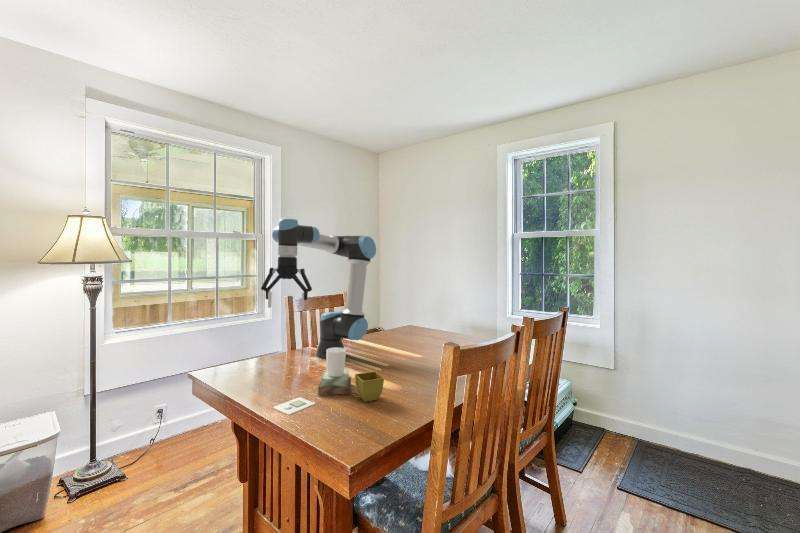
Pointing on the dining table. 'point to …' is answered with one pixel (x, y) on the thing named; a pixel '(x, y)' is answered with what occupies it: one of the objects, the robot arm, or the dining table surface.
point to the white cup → (335, 361)
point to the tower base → (334, 389)
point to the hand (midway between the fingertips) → (286, 307)
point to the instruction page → (293, 405)
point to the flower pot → (369, 385)
